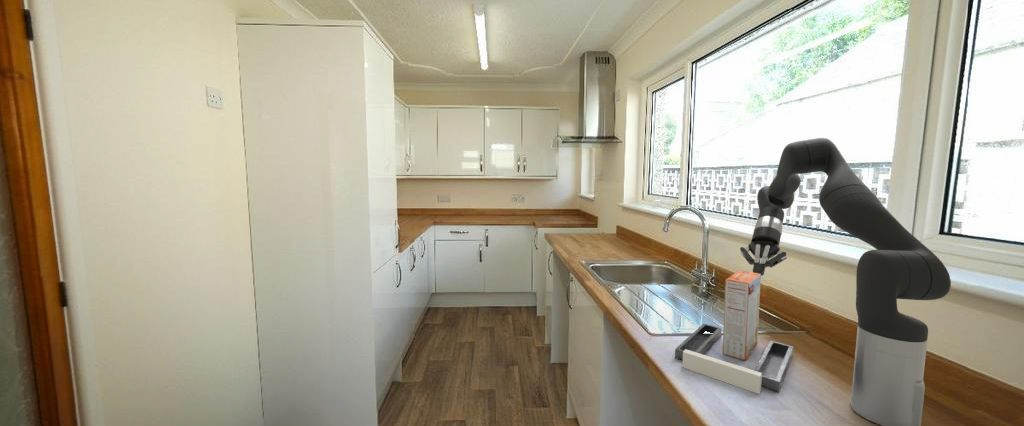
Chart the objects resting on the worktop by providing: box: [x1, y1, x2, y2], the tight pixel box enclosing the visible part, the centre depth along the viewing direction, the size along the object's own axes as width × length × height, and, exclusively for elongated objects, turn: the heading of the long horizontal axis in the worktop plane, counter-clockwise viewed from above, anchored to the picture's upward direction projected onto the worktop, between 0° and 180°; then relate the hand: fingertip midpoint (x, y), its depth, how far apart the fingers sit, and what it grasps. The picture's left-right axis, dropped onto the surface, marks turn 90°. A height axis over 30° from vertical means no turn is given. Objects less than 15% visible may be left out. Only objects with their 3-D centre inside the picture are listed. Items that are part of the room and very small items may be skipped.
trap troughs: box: [674, 323, 794, 393], centre depth 93 cm, size 22×24×2 cm
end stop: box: [681, 349, 762, 395], centre depth 83 cm, size 16×2×4 cm, turn 46°
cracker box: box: [722, 270, 762, 362], centre depth 97 cm, size 14×6×21 cm, turn 135°
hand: (757, 275), depth 110 cm, fingers closed
